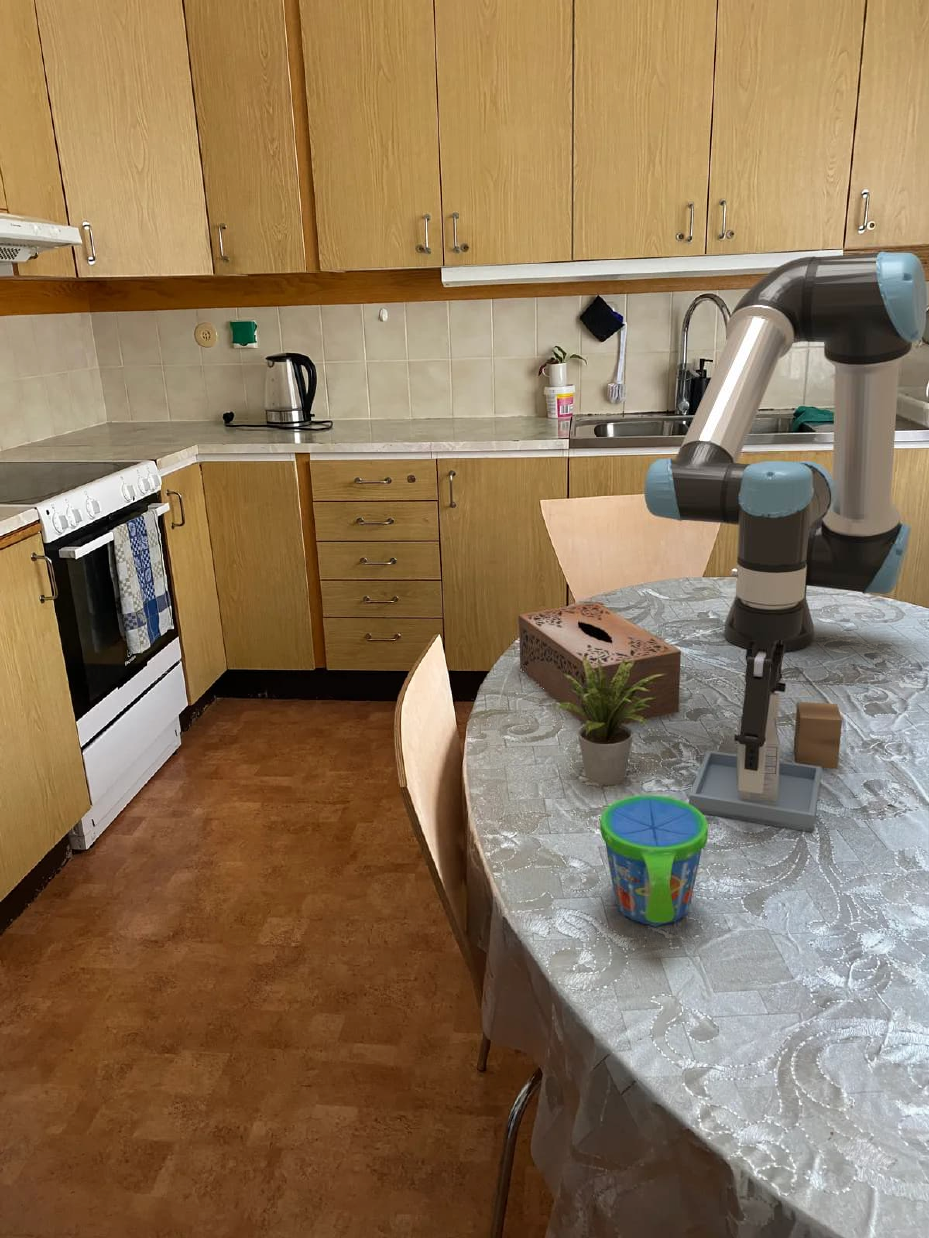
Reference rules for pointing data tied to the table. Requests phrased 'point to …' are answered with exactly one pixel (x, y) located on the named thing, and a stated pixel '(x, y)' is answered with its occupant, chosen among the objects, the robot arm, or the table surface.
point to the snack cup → (653, 855)
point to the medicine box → (770, 770)
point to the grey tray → (721, 798)
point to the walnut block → (817, 734)
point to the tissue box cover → (597, 656)
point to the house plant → (607, 722)
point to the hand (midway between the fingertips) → (758, 764)
